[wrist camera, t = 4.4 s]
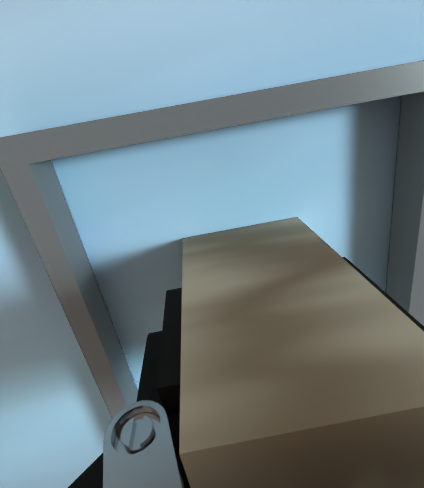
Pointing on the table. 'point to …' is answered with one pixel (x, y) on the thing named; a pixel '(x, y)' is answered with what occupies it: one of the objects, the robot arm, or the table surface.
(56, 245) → the grey flat frame
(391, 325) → the tan wooden block
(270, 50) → the table surface
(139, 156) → the table surface
